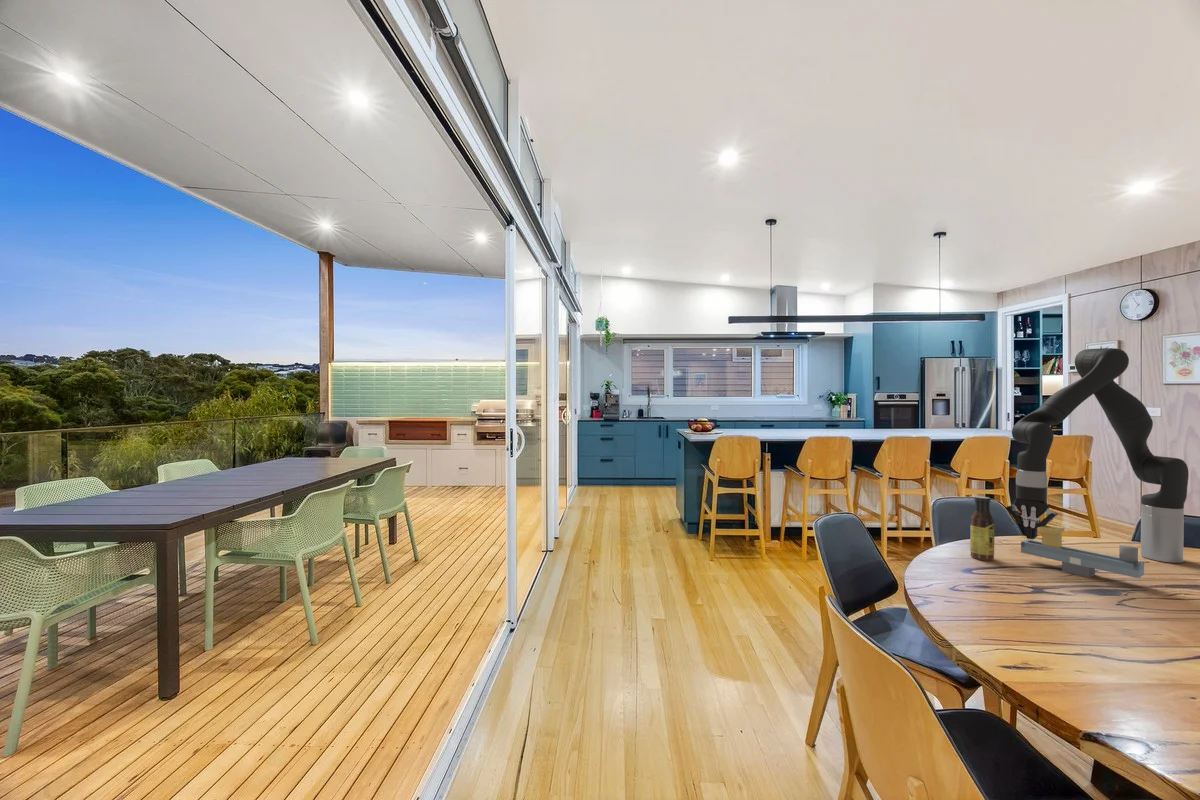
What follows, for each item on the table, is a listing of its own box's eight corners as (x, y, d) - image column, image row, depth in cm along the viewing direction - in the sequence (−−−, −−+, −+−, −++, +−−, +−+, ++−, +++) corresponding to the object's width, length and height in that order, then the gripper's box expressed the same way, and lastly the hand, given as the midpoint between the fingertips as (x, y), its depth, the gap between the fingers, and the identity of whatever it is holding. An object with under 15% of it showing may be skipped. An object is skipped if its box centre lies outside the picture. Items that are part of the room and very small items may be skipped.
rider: (1039, 550, 154) (1039, 527, 154) (1047, 547, 158) (1047, 524, 158) (1056, 554, 151) (1056, 530, 151) (1064, 550, 154) (1064, 527, 154)
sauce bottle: (994, 562, 158) (995, 500, 158) (969, 558, 162) (970, 497, 162) (994, 557, 163) (994, 496, 163) (970, 553, 167) (970, 494, 167)
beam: (1020, 561, 159) (1021, 529, 159) (1027, 559, 162) (1027, 526, 161) (1138, 589, 137) (1138, 551, 136) (1143, 585, 139) (1144, 548, 139)
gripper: (1063, 486, 155) (1062, 542, 155) (1011, 480, 166) (1010, 532, 166) (1053, 489, 151) (1052, 546, 151) (1001, 482, 162) (1000, 535, 163)
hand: (1030, 538), depth 159 cm, fingers closed
